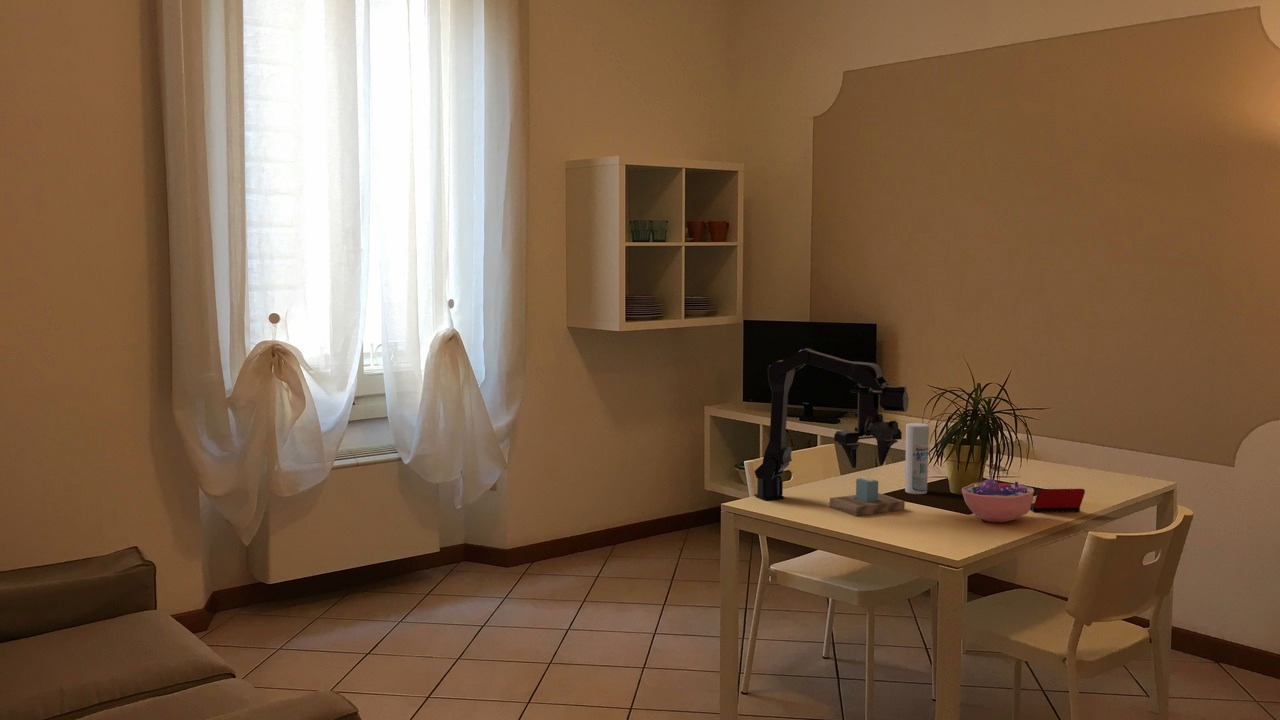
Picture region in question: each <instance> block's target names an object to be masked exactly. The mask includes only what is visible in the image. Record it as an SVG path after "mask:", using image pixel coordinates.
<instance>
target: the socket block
mask: <svg viewBox="0 0 1280 720" xmlns="http://www.w3.org/2000/svg"><path fill="white" fill-rule="evenodd" d="M905 504H906V502H905V500H901V499H898V498H895V497H892V496H889V495H886V494H883V493H879V492H878V502H871V503H865V502H862V501H859V500H856V494H854V495H845V496H835V497H829V507H830V508H831V507H833V508H832V509H834V508H835V509H834V510H837V509H838V510H837V511H841V512H843V513H846V514H849V515H851V516H854V517H862V516H870V515H877V514H885V513H893V512H894V513H895V512H901V511H903V512H904V511H905V507H906V506H905Z"/></svg>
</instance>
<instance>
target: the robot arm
mask: <svg viewBox="0 0 1280 720" xmlns="http://www.w3.org/2000/svg"><path fill="white" fill-rule="evenodd" d="M806 365H810V366H813V367H816V368H820V369H823V370H827V371H830V372H834V373H837V374H841V375H842V376H845V377H847V378H848V379H850V380H851V381H852V382H853V381H854V382H855V386H854V387H853V388H851V390H849V392H850V393H851V394H857V412H854V417H856V418H857V427H854V431H852V430H848V429H847V430H845V429H844V430H836V431H835V433H834V436H833V438H834V439H833V441H834V442H836V443H837V444H838V445H841V446H842V449H843V450H844V453H845V454H846V457H847V459H848V461H849V463H850V465H851V468H853V469H856V468H857V449H858V448H859V446H860V444H859V443H858V442H859V441H860V440H866V439H875V440H876V444H877V453H878V454H877V455H878V456H877V457H878V462H879V465H880V466H884V465H885V464H884V463H885V462H886V459H887V456H888V454H889V451H890V449H891V447H892V446H893V445H894V444H896V443H898V440H902V437H903V434H902V433H903V432H902V431H901V428H899V423H898V421H896V420H889V421H884V415H883V414H882V413H880V407H881V408H882V409H883V410H884V411H885V412H897V413H899V412H900V413H906V412H907V411H908V409H909V403H910V398H909V395H908V394H909V393H908V391H907V386H905V385H901V386H890V384H889V382H888V381H887V380H886V379H885V377H884V376H883V372H882V368H881V367H880V365H878V364H877V363H875V362H866V361H865V362H864V361H854V360H853V361H851V360H847V359H843V358H840V357H837V356H833V355H831V354H826V353H822V352H819V351H817V350H814V349H812V348H803V349H800V350H799V351H798V352H796V353H795V354H793V355H790V356H789V357H786V358H784V359H782V360H777V361H774V362H771V364H769V366H768V367H767V378H768V383H769V384H768V385H769V387H770V390H771V407H770V422H769V425H770V426H769V440H768V443H767V446H766V448H765V451H764V454H763V459H762V464H761V465H760V466H759V467H758V468H756V469H755V470H754V474H755V477H756V478H757V486H756V487H757V488H756V490H757V493H754V497H755V498H759V499H761V500H764V501H772V500H779V499H781V500H782V499H785V496H784V495H783V488H784V486H783V484H784V482H783V480H782V475H783V473H784V471H785V470H786V469H787V468H788V467H789V465H790V463H791V462H792V461H793V460H792V451H793V448H792V447H790V446H789V447H788V444H787V441H786V432H787V419H788V403H789V401H788V399H789V391H790V389H791V386H792V384H793V382H794V376H795V372H797V371H798V370H800V369H802V368H803V367H804V366H806ZM856 383H857V384H856Z"/></svg>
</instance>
